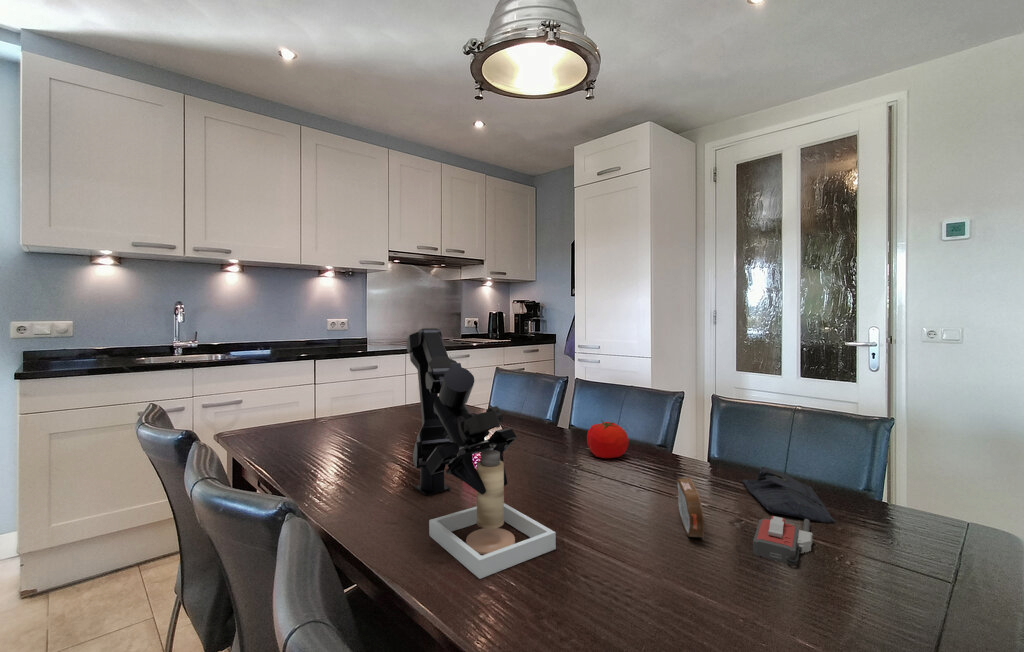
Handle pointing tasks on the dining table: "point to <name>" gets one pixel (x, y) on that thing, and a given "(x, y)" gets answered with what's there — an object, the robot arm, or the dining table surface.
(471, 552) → the white square frame
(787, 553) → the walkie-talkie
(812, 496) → the dark folded cloth
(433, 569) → the dining table surface
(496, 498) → the pepper mill
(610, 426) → the tomato
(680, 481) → the tin
